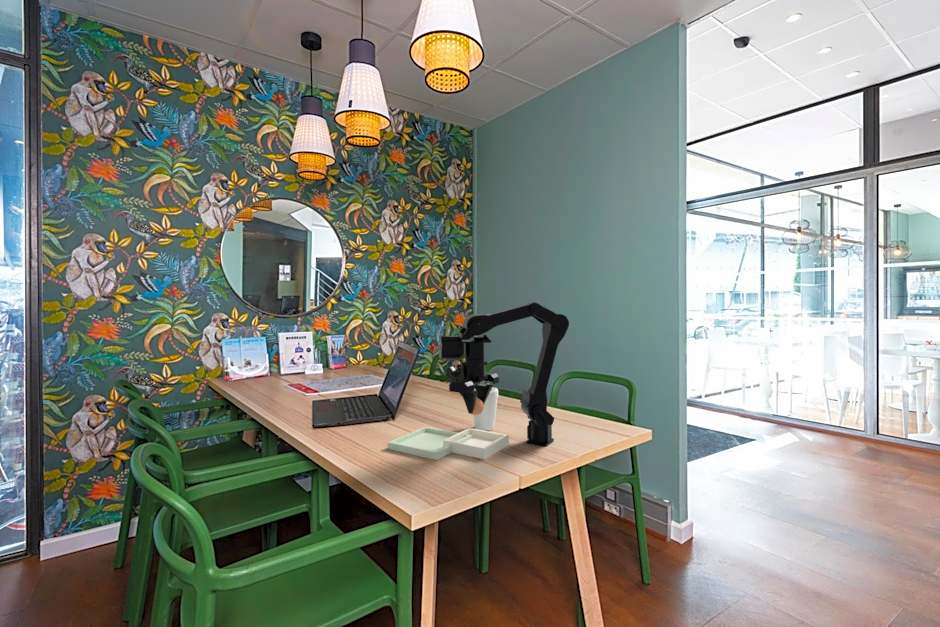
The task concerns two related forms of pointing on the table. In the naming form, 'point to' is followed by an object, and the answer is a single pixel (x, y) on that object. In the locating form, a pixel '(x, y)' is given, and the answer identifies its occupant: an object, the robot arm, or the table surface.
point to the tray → (425, 443)
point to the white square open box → (477, 443)
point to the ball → (478, 407)
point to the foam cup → (487, 412)
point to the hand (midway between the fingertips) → (475, 411)
